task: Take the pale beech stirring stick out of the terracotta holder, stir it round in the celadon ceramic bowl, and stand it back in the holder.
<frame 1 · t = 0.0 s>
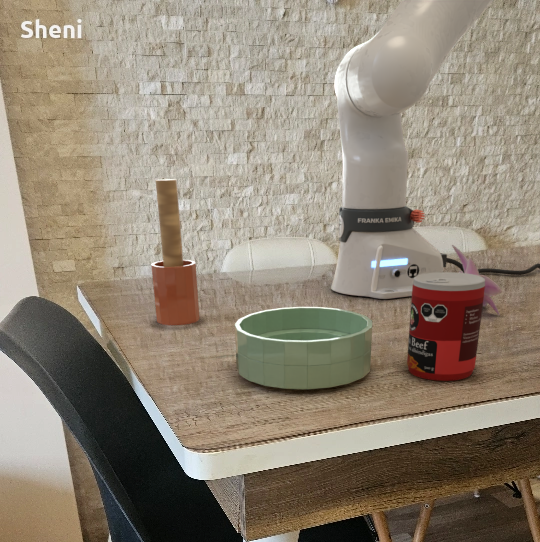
lily: (471, 314, 105), on the table
stick: (178, 319, 104), resting on holder
canned food: (439, 373, 80), on the table
holder: (178, 322, 104), on the table
bowl: (303, 371, 82), on the table
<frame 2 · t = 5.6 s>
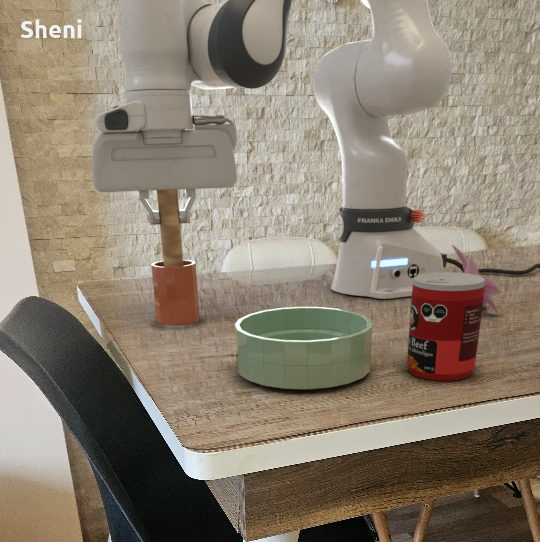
hand: (169, 223, 97), 15 cm above the table, tool pointing down, fingers closed on stick, 3 cm apart
stick: (178, 319, 104), point 1 cm above the table, touching gripper, holder
everything else where it was.
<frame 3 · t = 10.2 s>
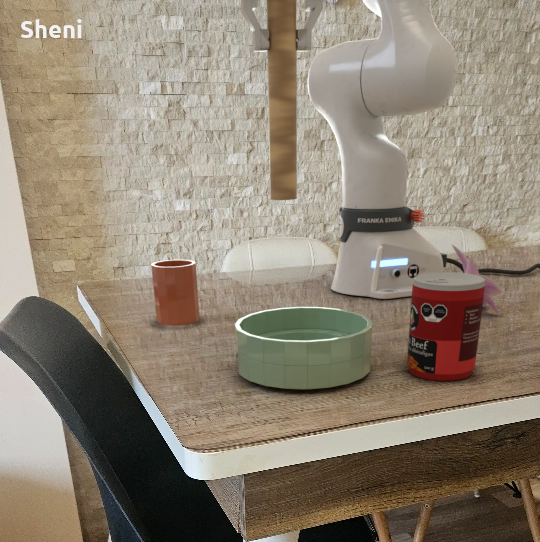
hand: (281, 51, 68), 34 cm above the table, tool pointing down, fingers closed on stick, 3 cm apart
stick: (283, 199, 75), point 19 cm above the table, touching gripper
everything else where it was.
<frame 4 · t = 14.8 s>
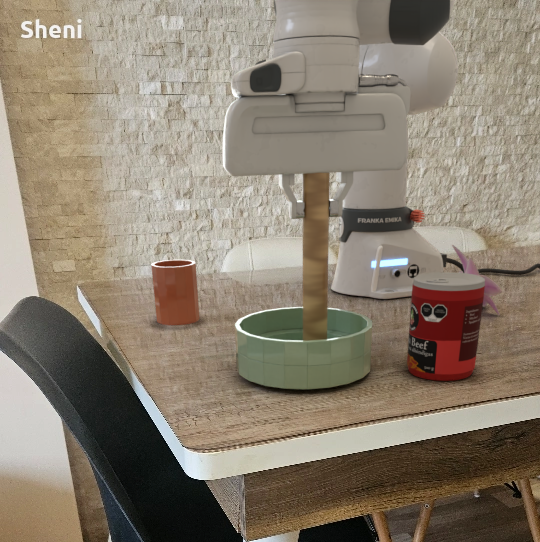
hand: (315, 217, 75), 17 cm above the table, tool pointing down, fingers closed on stick, 3 cm apart
stick: (314, 339, 82), point 3 cm above the table, touching gripper
everything else where it was.
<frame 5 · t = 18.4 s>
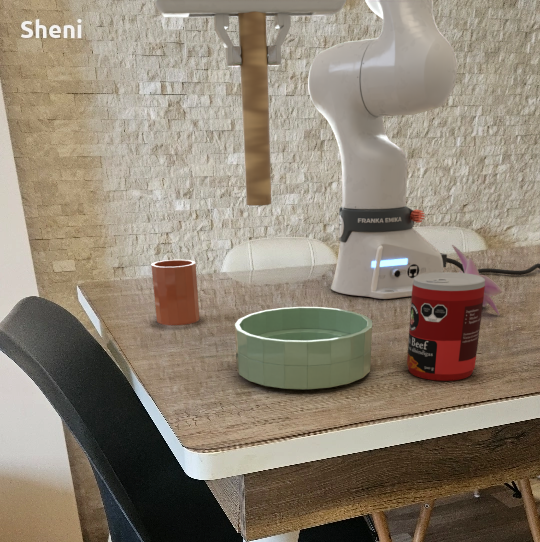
hand: (253, 66, 73), 33 cm above the table, tool pointing down, fingers closed on stick, 3 cm apart
stick: (258, 204, 79), point 19 cm above the table, touching gripper
everything else where it was.
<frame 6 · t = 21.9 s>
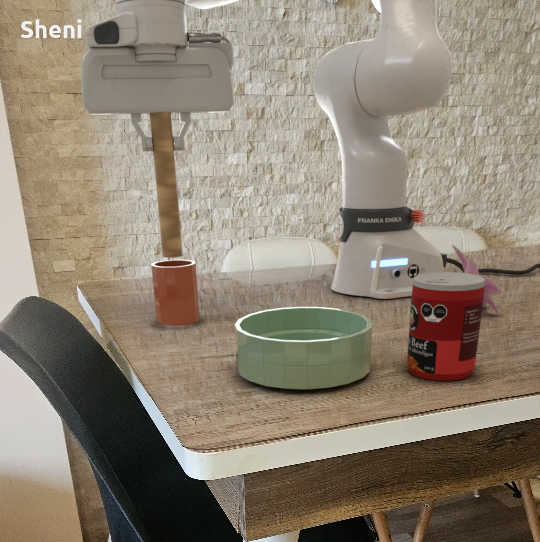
hand: (163, 151, 93), 24 cm above the table, tool pointing down, fingers closed on stick, 3 cm apart
stick: (172, 256, 99), point 10 cm above the table, touching gripper
everything else where it was.
when the fingers open (15 cm above the table, at t = 24.3 s): stick stays where it is, resting on holder.
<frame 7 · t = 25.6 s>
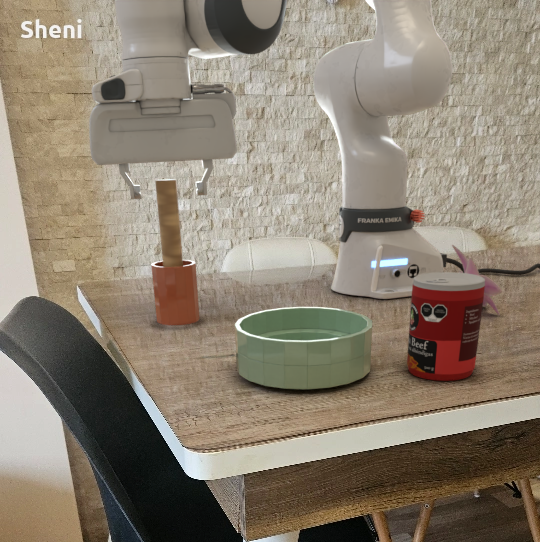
hand: (169, 197, 96), 18 cm above the table, tool pointing down, fingers open, 8 cm apart
stick: (177, 319, 104), resting on holder
everything else where it was.
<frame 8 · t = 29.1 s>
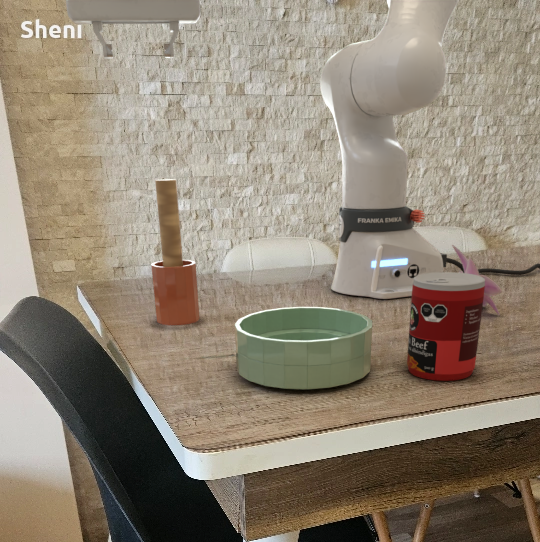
hand: (139, 57, 105), 37 cm above the table, tool pointing down, fingers open, 8 cm apart
nothing on the table moved.
at the end: stick 0.1 cm off-centre in the holder, point 0.5 cm above the holder's base; stick tilted 0°; stick touching holder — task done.
